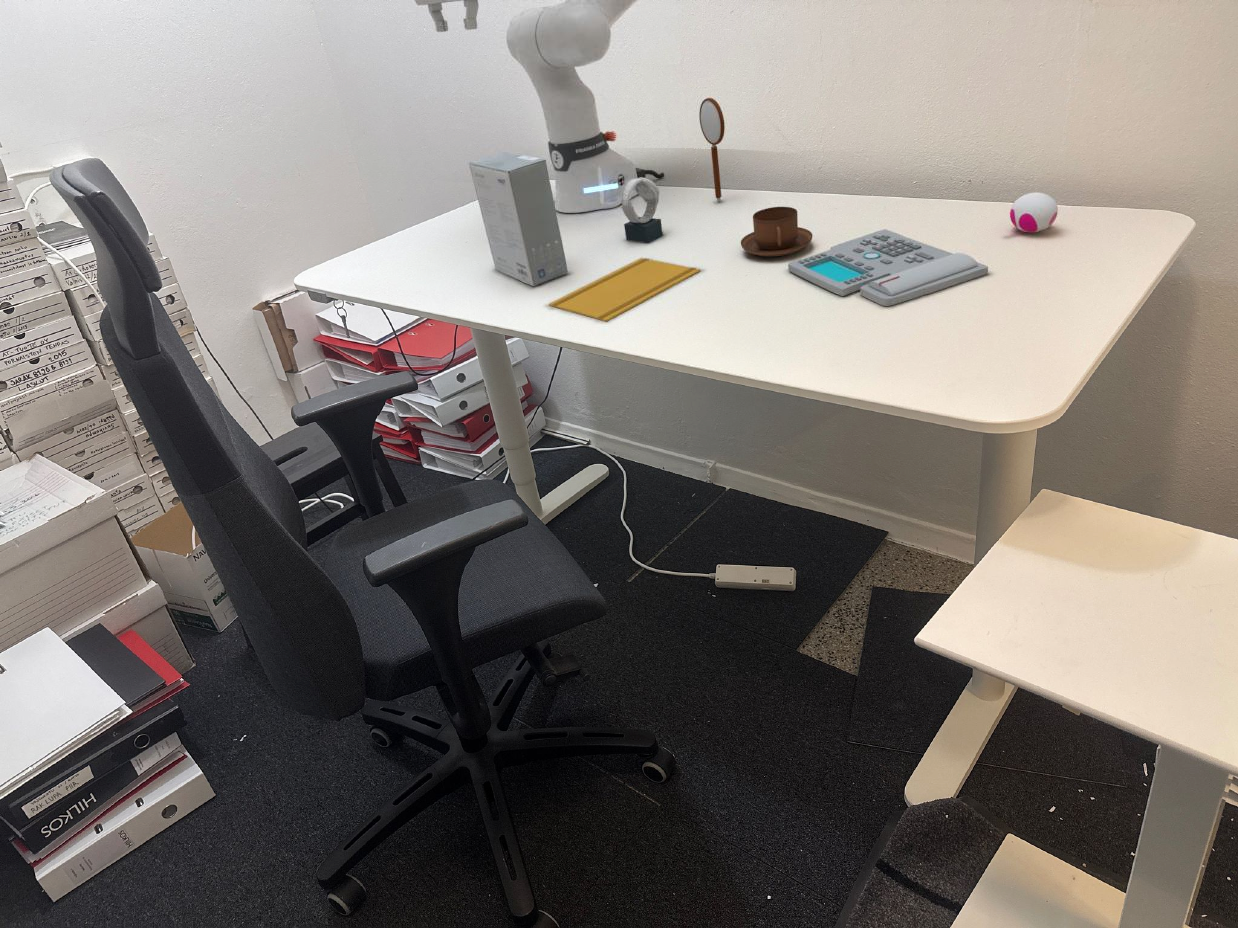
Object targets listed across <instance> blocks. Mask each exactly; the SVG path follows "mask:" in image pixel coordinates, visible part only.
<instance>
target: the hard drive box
mask: <svg viewBox="0 0 1238 928" xmlns="http://www.w3.org/2000/svg"><path fill="white" fill-rule="evenodd" d="M468 167H469V169H470V173H471V177H472V181H473V185H474V189H475V193H476V198H477V201H478V206H479V210H480V213H481V214H480V215H481V217H482V221H483V225H484V230H485V233H486V237H487V242H488V245H489V248H490V253H491V257H492V261H493V265H494V268H495V270H496V271H498V272H501V273H502V274H504V275H506V276H510V277H511V278H513V279H515V280H519V281H520V282H522V283H524V284H526V285H530V286H532V287H534V286H537V285H540V284H543V283H545V282H547V281H548V282H549V281H550V280H554V279H556V278H558V277H561V276H564V275H566V274H568V273H569V271H568V265H567V261H566V255H565V250H564V244H563V240H562V239H563V238H562V234H561V230H560V226H559V221H558V220H559V219H558V215H557V210H555V199H554V195H553V191H552V185H551V181H550V175H549V171H548V165H547V159H545V158H540V157H534V156H529V155H523V154H517V153H510V152H500V153H497V154H494V155H490V156H487V157H484V158H483V157H482V158H480V159H477V160H474V161H470V162H469V163H468Z"/></svg>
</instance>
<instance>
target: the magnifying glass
mask: <svg viewBox="0 0 1238 928" xmlns="http://www.w3.org/2000/svg"><path fill="white" fill-rule="evenodd" d="M698 117H699V124H700V129H701V132H702V135H703V137H704V139H705V140H706V141H707V143H709V144H710V145H711V147H710V150H711V161H712V163H711V164H712V173H713V184H714V195H715V199H716V202H717V203H720V202H721V198H722V189H721V188H722V187H721V176H720V164H719V153H718V146H717V145H719V144H720V143H721V142H722V141H723V139H724V136H725V118H724V114H723V111H722V108H721V106H720V104H719V103H718V102H717V100H715V99H714V98H712V97H707V98H705V99H704V100H702V102H701V103H700V107H699V116H698Z"/></svg>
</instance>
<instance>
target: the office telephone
mask: <svg viewBox="0 0 1238 928" xmlns="http://www.w3.org/2000/svg"><path fill="white" fill-rule="evenodd" d="M787 266H788V267H787V269H788V270H787V271H788V272H791V273H793V274H795V275H796V276H798V277H800V278H803V279H804V280H806V281H808V282H810V283H813V284H815V285H816V286H819V287H821V288H822V289H825V290H827V291H830V292H831V293H834V294H836V295H838V296H841V297H844V296H847V295H849V294H851V293H855V292H858V291H859V292H860V296H861V297H864V298H866V299H867V300H870V301H872V302H874V303H876V304H879V305H880V306H883V307H890V306H894V305H897V304H901V303H903V302H906V301H910V300H913V299H916V298H919V297H923V296H925V295H930V294H932V293H934V292H935V293H936V292H938V291H941V290H944V289H946V288H951V287H953V286H955V285H959V284H962V283H965V282H968V281H971V280H974V279H976V278H980V277H983V276H986V275H988V271H989V266H988V265H985V264H984V263H980V262H978V261H977V260H976V259H975V258H974V257H972V256H970V254H966V253H963V252H955V253H952V252H949V251H946V250H944V249H941V248H938V247H935V246H933V245H929V244H927V243H925V242H921V241H918V240H916V239H912V238H910V237H907V236H904V235H902V234H899V233H897V232H894V231H892V230H889V229H886V228H884V229H879V230H877V231H874V232H872V233H869V234H866V235H865V234H864V235H863V236H859V237H856V238H853V239H850V240H847V241H844V242H841V243H838V244H835V245H833V246H831V247H830V249H828V250H827V249H826V250H825V251H822V252H819V253H816V254H813V255H810V256H807V257H804V258H801V259H798V260H794V261H789V262H788V263H787Z"/></svg>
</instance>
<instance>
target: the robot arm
mask: <svg viewBox="0 0 1238 928" xmlns="http://www.w3.org/2000/svg"><path fill="white" fill-rule="evenodd" d="M460 1H461V2H462V1H463V7H464V8H465V18H463V24H464V26H463V27H464V30H467V31H469V30H477V29H478V22H477V17H478V11H479V0H414V2H415V3H416V5H417V6H427V8H428V13H429V14H430V16H431V18H432V21H433V22H434V26H435V31H436V32H437V33H445V32H448V31H449V26H448V24H449V23H448V20H445V17H444V14H443V12H442V11H443V5H442V4H447V3H453V2H460ZM637 1H638V0H565V1H563V2H560V3H557V4H555V5H549V6H540V7H531V8H529V9H527V10H524V11H522V12H520V13H518V14H516V15H515V16H514V17H513V18H512V19H511V20H510V21H509V23H508V26H507V29H506V44H507V45H506V46H507V48H508V51H509V53H510V54H511V56H512V57H513V58H514V60H515V61H516V62H517V63H518V64H520V66H521V67H522V68H523V69H524V71H525V72H526V74H527V76H528V78H529V79H530V81H531V83H532V86H533V87H534V90H535V93H536V95H537V96H538V98H539V101H540V104H541V108H542V112H543V117H544V122H545V126H546V131H547V136H548V142H547V147H548V152H549V157H550V161H551V165H552V168H553V172H554V187H555V199H554V205H555V210H556V212H559V213H566V214H577V213H587V212H592V211H596V210H597V211H598V210H604V209H606V210H607V209H612V208H617V207H618V206H619V205H622V202H621V197H622V191H623V188H624V186H625V185H626V183H627V182H628V181H629V180H631V179H638V178H646V175H651V176H653V177H654V178H655V179H662V178H664V177H665V173H664V172H661V173H657V172H656V171H655V170H652V169H643V168H640V167H636V166H635V164H634V163H633V161H632V160H631V159H629V158H627V157H626V156H624V155H622V154H620V153H619V152H617V151H615V150H614V149H612V148H610V145H609V143H608V142H615V141H616V139H617V133H616V132H615V131H612V130H611V131H610V130H608V131H605V132H603V131H601V129H600V128H601V127H600V122H599V116H598V110H597V104H596V99H595V98H596V97H595V94H594V93H593V91H592V90H591V89H590V88H589V87H588V86H587V85H586V84H585V83H584V82H583V80H582V79H581V77H580V76H579V74H578V72H577V70H576V68H581V67H585V66H587V65H591V64H593V63H596V62H598V61H600V60H602V59H603V58H604V57H605V56H606V54H607V53H608V51H609V49H610V45H611V38H612V32H611V31H612V30H611V28H612V27H613V25H614V24H615V23H616V22H617V21H618V20H620V18H621V17H622V16H624V14H625V13H627V11H628V10H629V9H630V8H632V6H634V4H635V3H636V2H637ZM646 179H647V178H646ZM636 196H638V194H637V192H636V191H634V189H633V191H632V194H631V199H632V198H634V197H636Z"/></svg>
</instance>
